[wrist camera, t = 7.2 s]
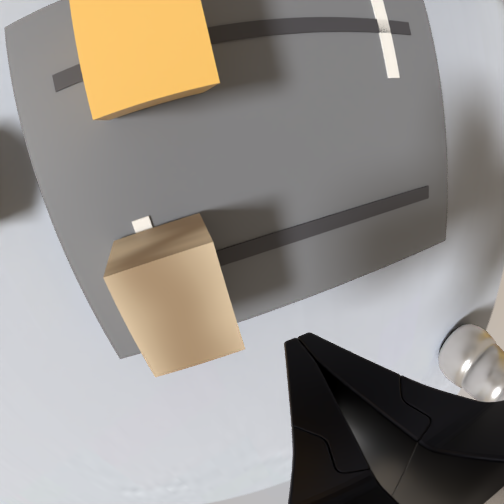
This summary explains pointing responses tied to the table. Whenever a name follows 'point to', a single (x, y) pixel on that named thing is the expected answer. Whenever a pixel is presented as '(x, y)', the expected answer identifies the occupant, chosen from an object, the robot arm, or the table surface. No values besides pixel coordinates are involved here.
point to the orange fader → (141, 53)
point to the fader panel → (249, 148)
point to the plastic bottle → (474, 363)
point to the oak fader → (173, 295)
